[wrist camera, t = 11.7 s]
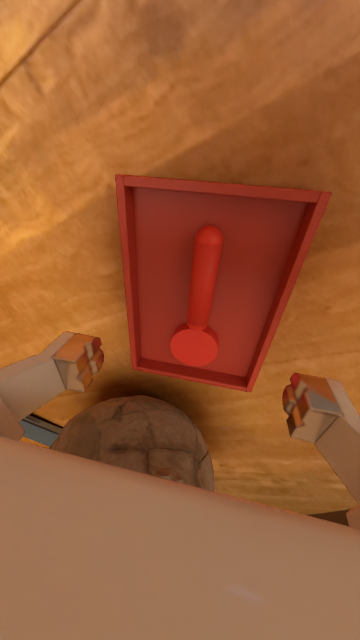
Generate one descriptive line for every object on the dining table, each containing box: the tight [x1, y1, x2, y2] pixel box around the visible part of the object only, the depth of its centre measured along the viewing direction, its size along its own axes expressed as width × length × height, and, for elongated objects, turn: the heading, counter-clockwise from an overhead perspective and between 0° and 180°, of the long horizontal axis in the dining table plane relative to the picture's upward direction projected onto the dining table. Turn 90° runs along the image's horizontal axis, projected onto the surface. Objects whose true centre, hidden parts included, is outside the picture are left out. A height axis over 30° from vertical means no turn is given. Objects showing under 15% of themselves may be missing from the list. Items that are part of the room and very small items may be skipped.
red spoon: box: [170, 225, 223, 366], centre depth 19 cm, size 14×5×2 cm, turn 176°
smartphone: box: [19, 415, 62, 447], centre depth 41 cm, size 8×2×15 cm
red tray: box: [115, 175, 332, 392], centre depth 19 cm, size 13×18×2 cm
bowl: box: [49, 395, 215, 492], centre depth 26 cm, size 22×22×15 cm
